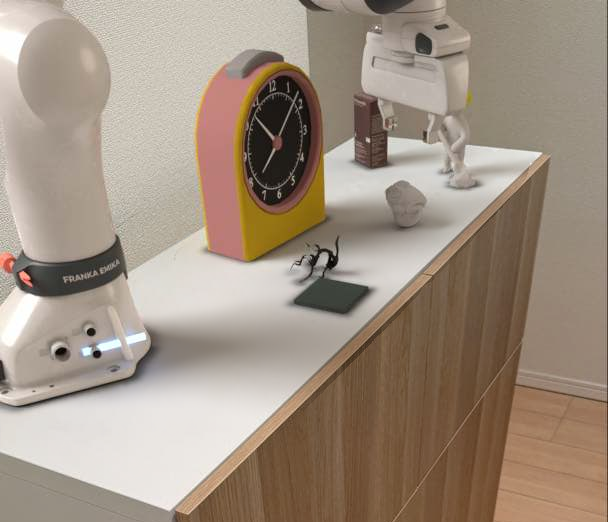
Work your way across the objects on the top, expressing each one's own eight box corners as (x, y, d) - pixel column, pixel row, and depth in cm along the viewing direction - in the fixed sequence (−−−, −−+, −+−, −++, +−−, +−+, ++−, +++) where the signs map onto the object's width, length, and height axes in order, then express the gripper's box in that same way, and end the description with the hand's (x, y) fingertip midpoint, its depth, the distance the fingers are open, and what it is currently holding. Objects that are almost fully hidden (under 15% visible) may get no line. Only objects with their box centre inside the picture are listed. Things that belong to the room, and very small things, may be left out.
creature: (288, 290, 115) (339, 281, 113) (277, 256, 112) (330, 246, 109) (298, 268, 121) (347, 259, 118) (289, 234, 118) (339, 224, 115)
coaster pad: (343, 314, 107) (343, 309, 106) (293, 303, 110) (293, 299, 109) (368, 290, 112) (368, 286, 111) (320, 280, 115) (319, 276, 114)
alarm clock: (248, 262, 121) (229, 70, 103) (206, 250, 125) (180, 63, 107) (327, 218, 133) (322, 38, 115) (285, 208, 137) (275, 34, 119)
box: (352, 161, 154) (352, 93, 146) (371, 157, 155) (372, 89, 147) (369, 169, 150) (369, 100, 142) (388, 164, 152) (390, 96, 143)
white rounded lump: (391, 216, 132) (392, 173, 127) (430, 221, 130) (433, 177, 125) (379, 230, 128) (379, 186, 123) (419, 234, 126) (422, 190, 121)
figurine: (418, 183, 143) (423, 93, 133) (435, 168, 149) (440, 79, 139) (471, 189, 139) (480, 96, 129) (486, 173, 145) (495, 83, 135)
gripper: (351, 25, 115) (352, 126, 125) (445, 45, 103) (438, 155, 112) (383, 18, 118) (382, 118, 127) (479, 36, 105) (470, 146, 114)
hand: (409, 136), depth 119 cm, fingers open, 8 cm apart
